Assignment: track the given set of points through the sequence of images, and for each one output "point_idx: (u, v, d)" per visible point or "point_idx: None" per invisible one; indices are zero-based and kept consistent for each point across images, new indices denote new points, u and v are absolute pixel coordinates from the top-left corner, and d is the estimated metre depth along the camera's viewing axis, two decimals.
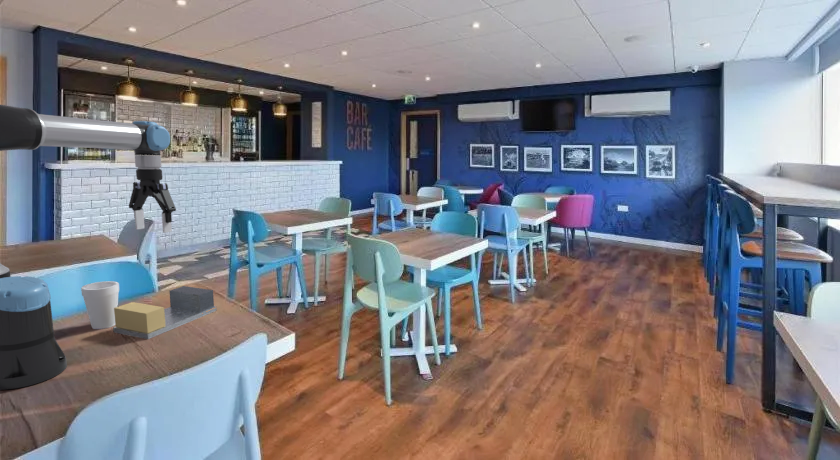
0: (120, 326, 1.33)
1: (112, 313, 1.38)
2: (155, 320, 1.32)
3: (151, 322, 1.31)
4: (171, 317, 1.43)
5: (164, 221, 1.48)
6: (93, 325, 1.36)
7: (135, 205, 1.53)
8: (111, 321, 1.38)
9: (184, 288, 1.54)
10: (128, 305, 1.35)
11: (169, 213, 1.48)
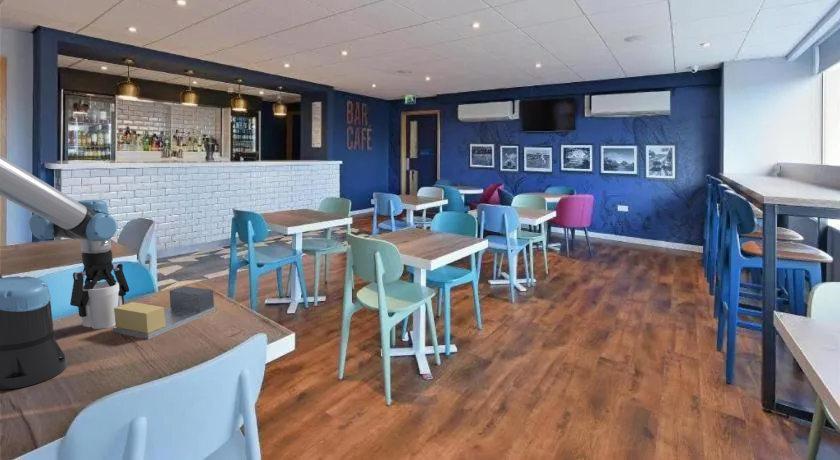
0: (120, 326, 1.33)
1: (112, 313, 1.38)
2: (155, 320, 1.32)
3: (151, 322, 1.31)
4: (171, 317, 1.43)
5: None
6: (93, 325, 1.36)
7: None
8: (111, 321, 1.38)
9: (184, 288, 1.54)
10: (128, 305, 1.35)
11: (79, 307, 1.32)
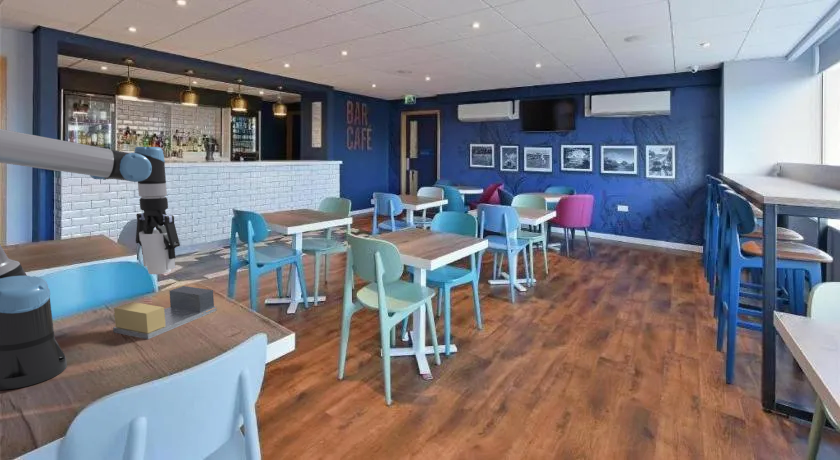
0: (120, 326, 1.33)
1: None
2: (155, 320, 1.32)
3: (151, 322, 1.31)
4: (171, 317, 1.43)
5: (167, 257, 1.38)
6: None
7: None
8: None
9: (184, 288, 1.54)
10: (128, 305, 1.35)
11: (172, 249, 1.38)
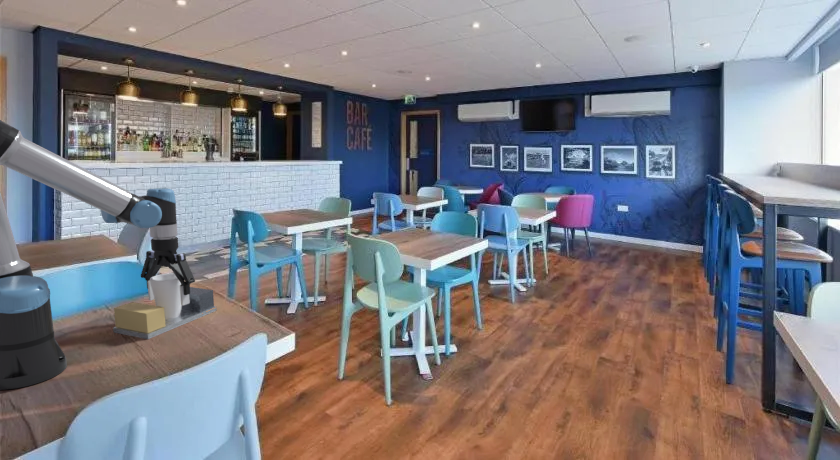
0: (120, 326, 1.33)
1: None
2: (155, 320, 1.32)
3: (151, 322, 1.31)
4: None
5: (182, 293, 1.40)
6: (177, 313, 1.43)
7: (148, 275, 1.43)
8: None
9: None
10: (128, 305, 1.35)
11: (188, 285, 1.40)
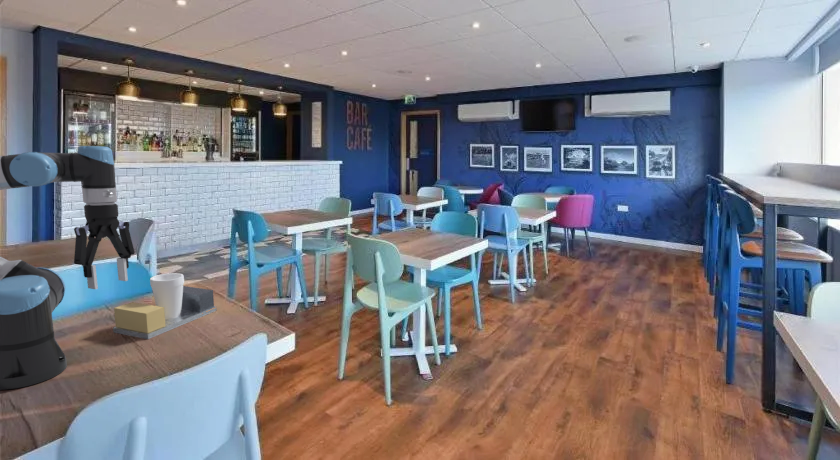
0: (120, 326, 1.33)
1: None
2: (155, 320, 1.32)
3: (151, 322, 1.31)
4: None
5: None
6: (177, 313, 1.43)
7: None
8: None
9: (184, 288, 1.54)
10: (128, 305, 1.35)
11: (84, 266, 1.18)
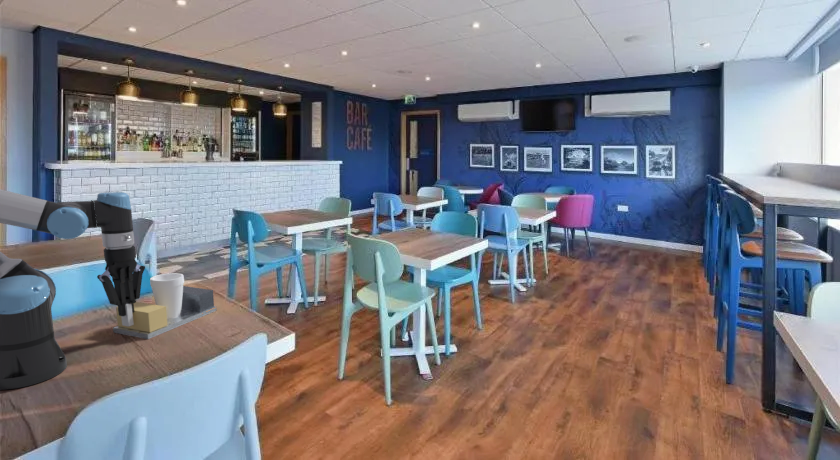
0: (122, 325, 1.34)
1: None
2: (157, 319, 1.33)
3: (153, 321, 1.31)
4: None
5: None
6: (177, 313, 1.43)
7: None
8: None
9: (184, 288, 1.54)
10: None
11: (118, 306, 1.27)
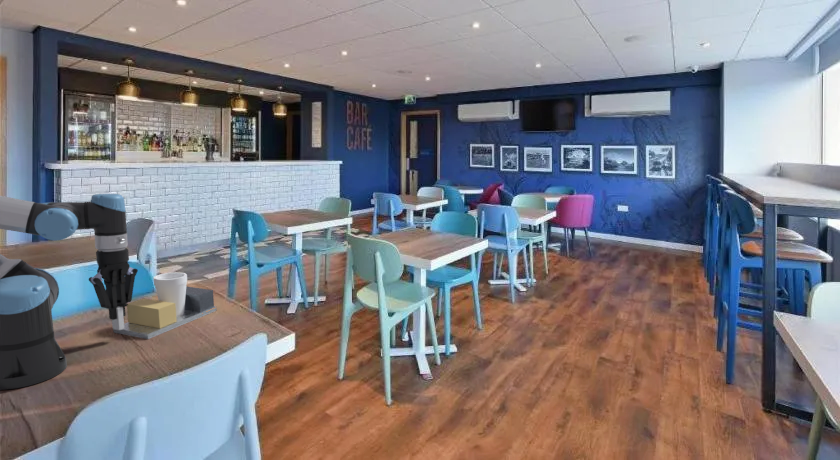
0: (132, 321, 1.37)
1: None
2: (167, 315, 1.36)
3: (163, 317, 1.34)
4: None
5: None
6: (180, 312, 1.45)
7: None
8: None
9: None
10: (140, 301, 1.39)
11: (109, 309, 1.25)
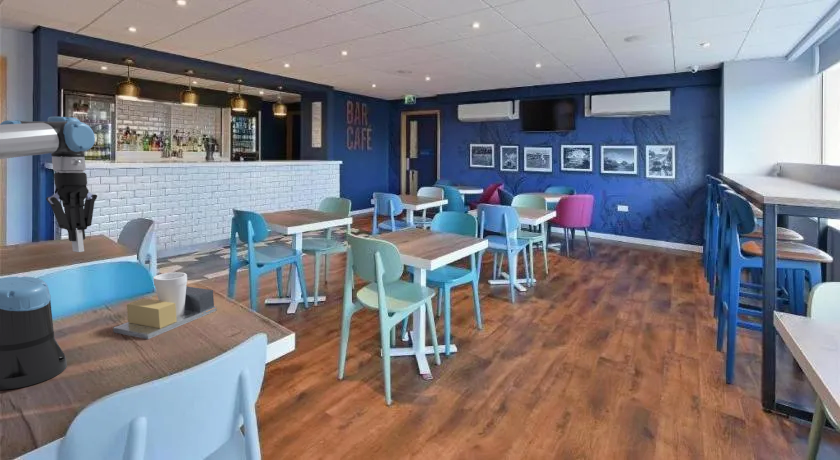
0: (132, 321, 1.37)
1: None
2: (167, 315, 1.36)
3: (163, 317, 1.34)
4: None
5: None
6: (180, 312, 1.45)
7: None
8: None
9: None
10: (140, 301, 1.39)
11: (68, 231, 1.29)
